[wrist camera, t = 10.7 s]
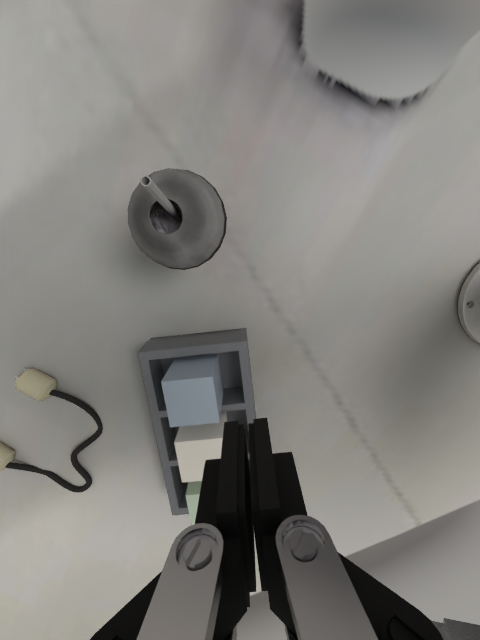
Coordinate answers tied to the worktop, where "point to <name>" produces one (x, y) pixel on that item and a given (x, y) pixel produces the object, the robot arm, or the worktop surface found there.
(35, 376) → the cable
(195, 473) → the key ivory
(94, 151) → the worktop surface
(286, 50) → the worktop surface
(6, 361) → the worktop surface
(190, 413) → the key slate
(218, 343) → the box
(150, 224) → the beverage cup
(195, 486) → the key sage
